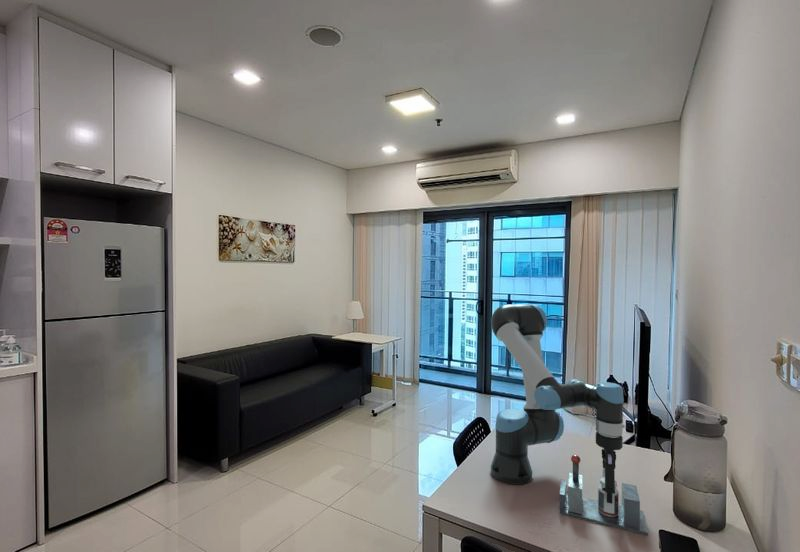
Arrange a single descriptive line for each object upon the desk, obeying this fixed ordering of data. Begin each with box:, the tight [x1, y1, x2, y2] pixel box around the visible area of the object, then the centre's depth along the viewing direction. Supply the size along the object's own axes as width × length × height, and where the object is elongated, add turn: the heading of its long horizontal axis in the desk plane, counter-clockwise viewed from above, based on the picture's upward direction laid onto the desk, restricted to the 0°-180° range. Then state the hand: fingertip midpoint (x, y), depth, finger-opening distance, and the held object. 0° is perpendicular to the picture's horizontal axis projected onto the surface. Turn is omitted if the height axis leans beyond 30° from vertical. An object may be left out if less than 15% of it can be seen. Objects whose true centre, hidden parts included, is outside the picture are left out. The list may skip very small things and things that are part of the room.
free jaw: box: [567, 454, 583, 514], centre depth 130 cm, size 4×10×16 cm, turn 155°
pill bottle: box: [597, 476, 619, 517], centre depth 126 cm, size 6×6×10 cm
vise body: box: [558, 479, 649, 536], centre depth 127 cm, size 24×12×9 cm, turn 65°
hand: (607, 500), depth 126 cm, fingers open, 13 cm apart
